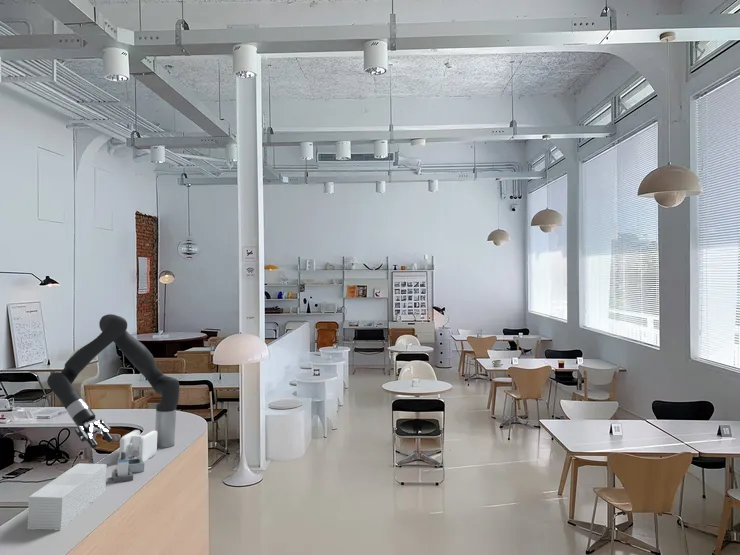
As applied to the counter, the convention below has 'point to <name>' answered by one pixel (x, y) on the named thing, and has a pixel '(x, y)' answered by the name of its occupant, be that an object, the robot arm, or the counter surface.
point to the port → (136, 465)
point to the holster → (122, 477)
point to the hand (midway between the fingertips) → (103, 443)
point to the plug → (122, 465)
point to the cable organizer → (139, 445)
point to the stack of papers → (66, 496)
